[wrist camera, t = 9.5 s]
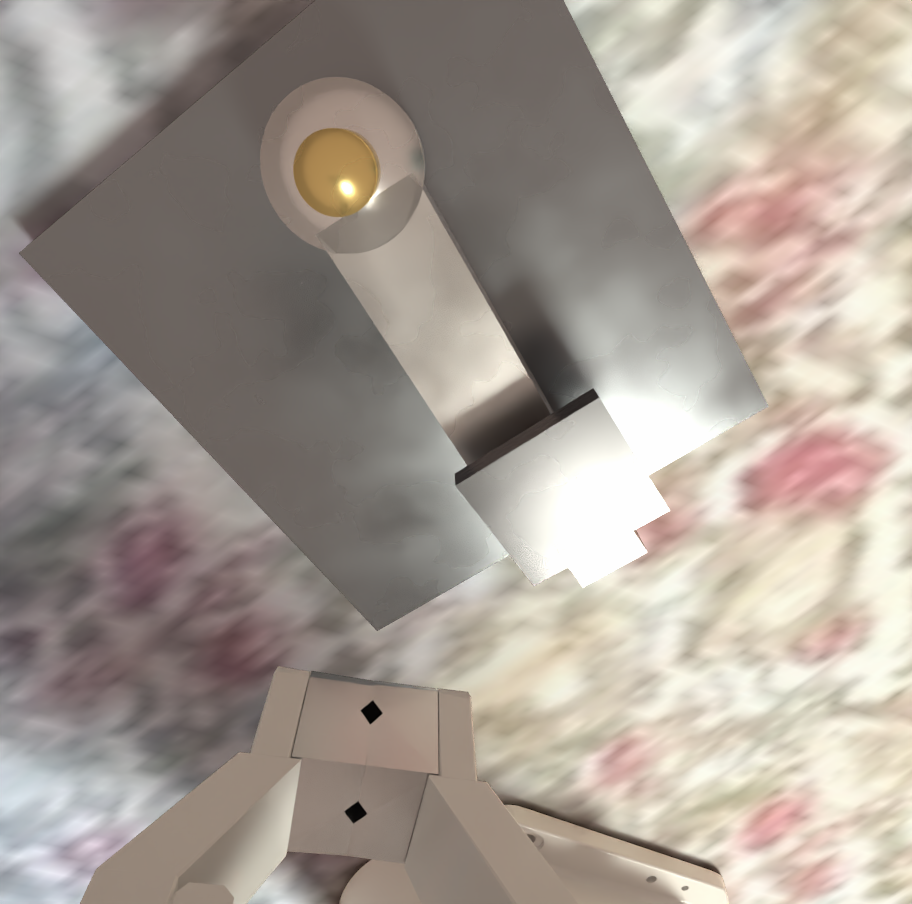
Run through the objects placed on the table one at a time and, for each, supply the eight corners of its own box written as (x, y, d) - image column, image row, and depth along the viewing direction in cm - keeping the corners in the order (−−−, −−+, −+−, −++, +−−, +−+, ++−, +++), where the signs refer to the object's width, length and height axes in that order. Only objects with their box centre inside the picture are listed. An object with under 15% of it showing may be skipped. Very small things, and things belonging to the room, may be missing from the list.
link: (251, 137, 20) (225, 138, 18) (373, 51, 19) (365, 39, 17) (483, 490, 26) (488, 529, 23) (586, 435, 25) (603, 470, 22)
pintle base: (485, -132, 19) (507, -242, 13) (754, 394, 26) (842, 466, 20) (38, 247, 22) (-89, 284, 17) (379, 612, 30) (367, 722, 24)
